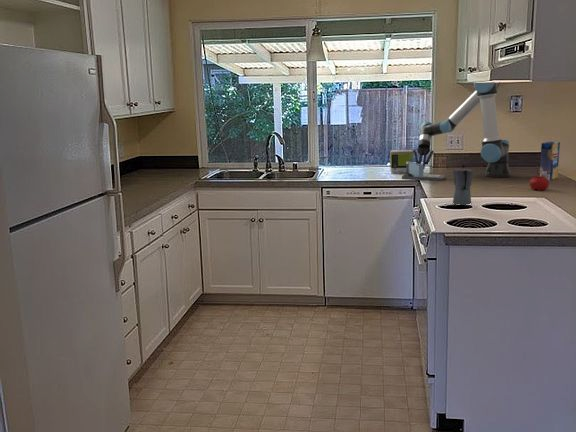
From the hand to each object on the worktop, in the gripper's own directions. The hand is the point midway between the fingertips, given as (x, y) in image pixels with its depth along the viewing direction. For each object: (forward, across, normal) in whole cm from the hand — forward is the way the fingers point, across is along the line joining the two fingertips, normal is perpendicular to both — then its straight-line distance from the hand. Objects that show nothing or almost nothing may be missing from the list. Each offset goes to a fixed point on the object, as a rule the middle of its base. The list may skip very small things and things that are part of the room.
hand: (420, 172), depth 379 cm
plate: (-1, -1, -7) cm, 8 cm away
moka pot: (+57, -30, +51) cm, 82 cm away
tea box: (-18, +16, -25) cm, 35 cm away
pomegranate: (+19, -67, +13) cm, 71 cm away
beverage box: (-11, -75, -18) cm, 78 cm away
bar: (0, +4, -2) cm, 5 cm away
